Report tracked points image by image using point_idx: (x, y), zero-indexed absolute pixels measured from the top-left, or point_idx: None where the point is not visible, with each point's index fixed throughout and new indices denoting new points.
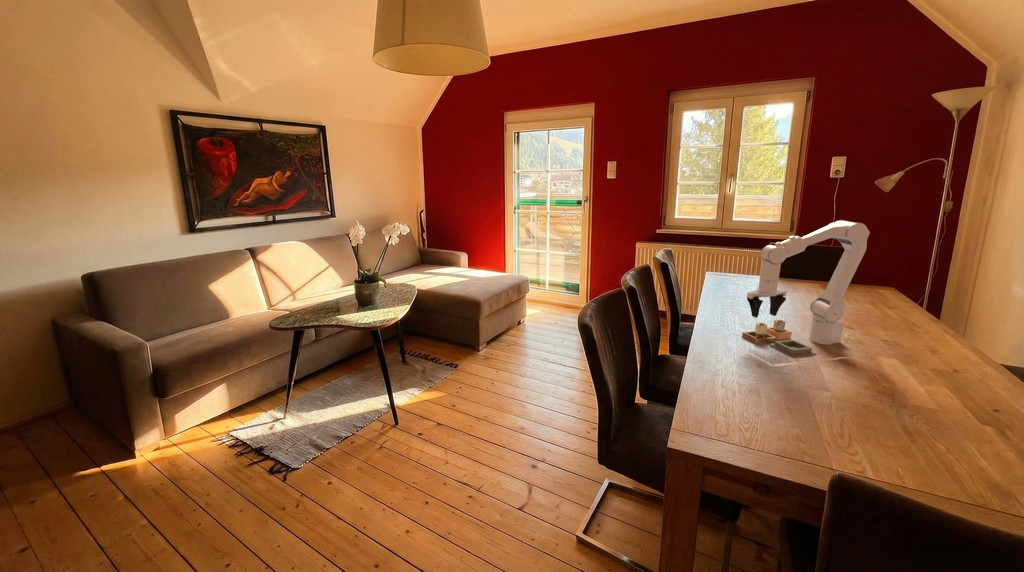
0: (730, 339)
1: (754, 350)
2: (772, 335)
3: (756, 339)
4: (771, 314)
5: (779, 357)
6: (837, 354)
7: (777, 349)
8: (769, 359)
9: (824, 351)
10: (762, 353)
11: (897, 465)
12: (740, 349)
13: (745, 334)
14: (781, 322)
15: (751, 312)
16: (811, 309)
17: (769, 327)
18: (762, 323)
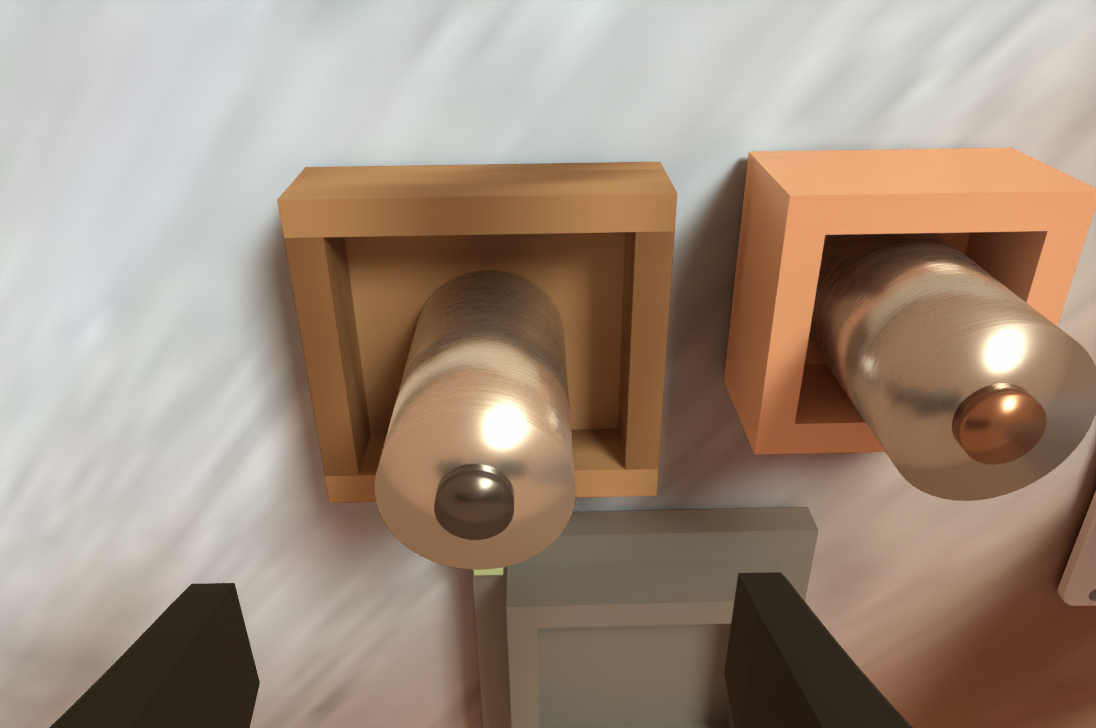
0: (106, 151)
1: (247, 526)
2: (748, 329)
3: (329, 480)
4: (737, 615)
5: (402, 688)
6: (1015, 718)
7: (477, 620)
8: (269, 704)
9: (979, 657)
10: (289, 598)
11: None
12: (84, 477)
13: (295, 268)
14: (955, 472)
15: (135, 645)
16: None
17: (866, 207)
18: (482, 517)
